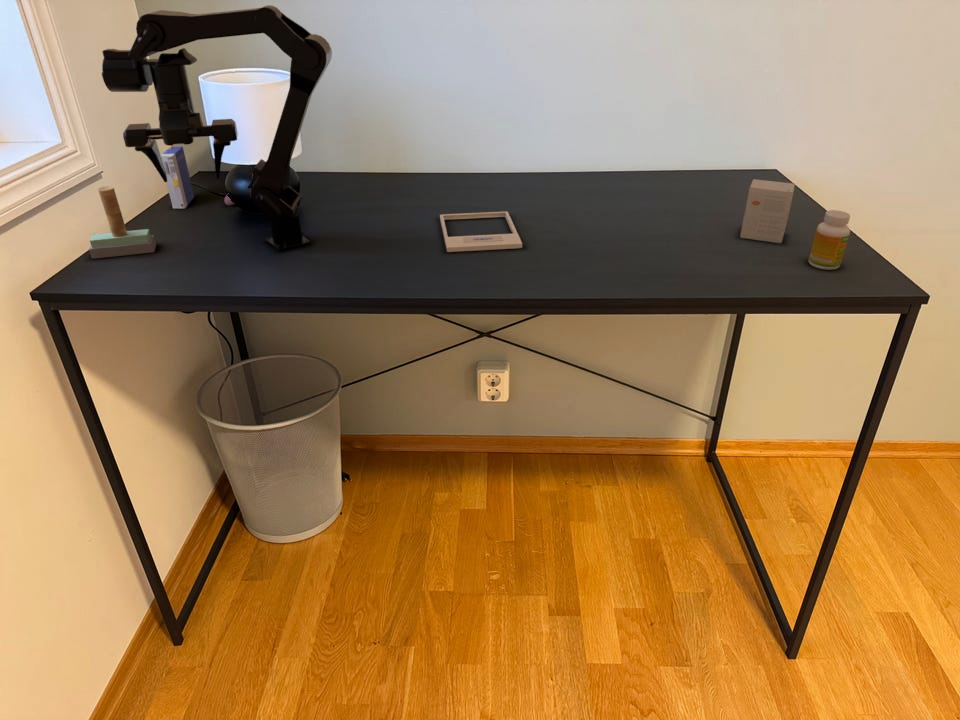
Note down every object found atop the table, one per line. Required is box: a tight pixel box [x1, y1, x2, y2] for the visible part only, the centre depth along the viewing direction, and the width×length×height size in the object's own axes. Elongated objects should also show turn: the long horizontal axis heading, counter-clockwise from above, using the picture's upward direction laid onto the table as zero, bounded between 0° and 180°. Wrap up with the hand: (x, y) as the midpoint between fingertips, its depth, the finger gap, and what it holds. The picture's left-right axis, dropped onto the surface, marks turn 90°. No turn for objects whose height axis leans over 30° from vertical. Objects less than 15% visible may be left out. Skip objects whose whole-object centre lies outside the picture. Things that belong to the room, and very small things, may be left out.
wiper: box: [88, 185, 157, 260], centre depth 129 cm, size 11×4×12 cm, turn 106°
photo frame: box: [439, 210, 523, 253], centre depth 139 cm, size 15×1×18 cm
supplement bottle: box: [808, 209, 851, 271], centre depth 124 cm, size 5×5×10 cm
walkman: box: [160, 145, 195, 210], centre depth 153 cm, size 8×3×12 cm, turn 4°
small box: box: [739, 178, 796, 244], centre depth 135 cm, size 8×6×10 cm
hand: (192, 179), depth 128 cm, fingers open, 9 cm apart
